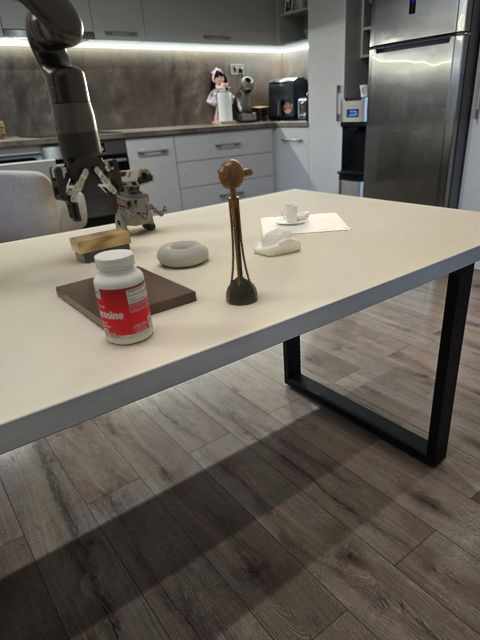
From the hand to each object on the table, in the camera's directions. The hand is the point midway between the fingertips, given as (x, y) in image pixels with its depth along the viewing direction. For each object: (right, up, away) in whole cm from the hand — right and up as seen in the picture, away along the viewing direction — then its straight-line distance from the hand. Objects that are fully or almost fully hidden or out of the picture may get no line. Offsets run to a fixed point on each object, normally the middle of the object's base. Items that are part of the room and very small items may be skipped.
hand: (96, 217), depth 98 cm
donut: (+19, -10, -4) cm, 22 cm away
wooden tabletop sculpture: (+31, -20, -24) cm, 44 cm away
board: (+12, -19, -21) cm, 30 cm away
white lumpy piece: (+37, -7, -1) cm, 38 cm away
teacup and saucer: (+44, +4, +20) cm, 48 cm away
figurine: (+4, +2, +21) cm, 21 cm away
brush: (+1, -7, +3) cm, 8 cm away
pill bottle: (+17, -25, -34) cm, 46 cm away
